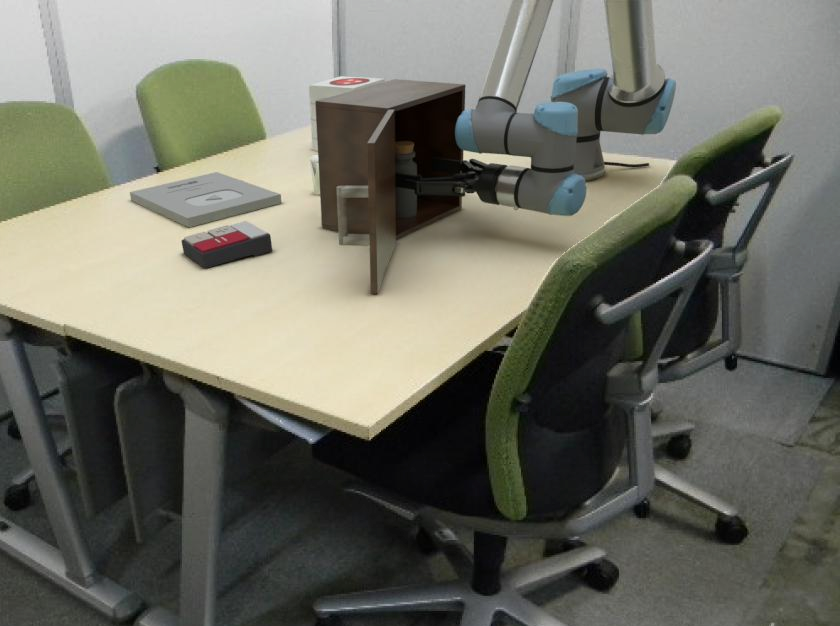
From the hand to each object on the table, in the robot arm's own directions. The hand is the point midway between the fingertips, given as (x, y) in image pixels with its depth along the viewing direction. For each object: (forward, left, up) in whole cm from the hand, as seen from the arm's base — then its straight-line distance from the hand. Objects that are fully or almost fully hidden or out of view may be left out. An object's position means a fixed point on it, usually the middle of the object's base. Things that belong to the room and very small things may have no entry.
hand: (414, 171), depth 176 cm
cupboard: (+4, -2, -11) cm, 12 cm away
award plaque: (+48, -22, -11) cm, 54 cm away
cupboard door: (+10, +26, -10) cm, 30 cm away
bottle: (+2, -2, -10) cm, 10 cm away
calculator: (+38, +15, -11) cm, 42 cm away
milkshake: (+20, -25, -11) cm, 34 cm away
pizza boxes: (+10, -63, -11) cm, 65 cm away
